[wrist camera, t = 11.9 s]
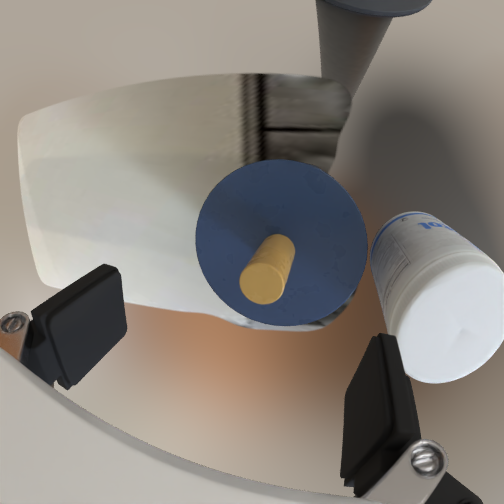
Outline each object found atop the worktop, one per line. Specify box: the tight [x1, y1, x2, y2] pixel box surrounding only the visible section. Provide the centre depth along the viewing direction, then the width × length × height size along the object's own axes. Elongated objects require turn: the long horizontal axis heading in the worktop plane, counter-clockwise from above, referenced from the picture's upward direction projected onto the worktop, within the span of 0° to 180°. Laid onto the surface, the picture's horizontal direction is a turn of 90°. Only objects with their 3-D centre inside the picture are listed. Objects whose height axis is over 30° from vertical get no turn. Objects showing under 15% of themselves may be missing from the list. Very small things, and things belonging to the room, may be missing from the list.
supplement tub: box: [370, 211, 504, 383], centre depth 20 cm, size 10×10×15 cm
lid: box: [196, 159, 368, 326], centre depth 18 cm, size 12×12×7 cm
